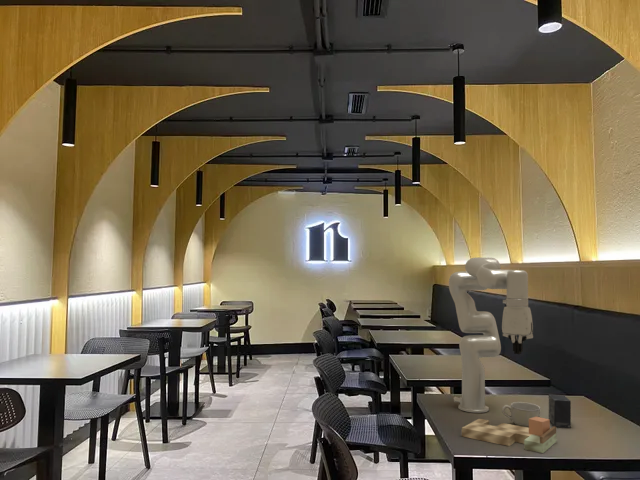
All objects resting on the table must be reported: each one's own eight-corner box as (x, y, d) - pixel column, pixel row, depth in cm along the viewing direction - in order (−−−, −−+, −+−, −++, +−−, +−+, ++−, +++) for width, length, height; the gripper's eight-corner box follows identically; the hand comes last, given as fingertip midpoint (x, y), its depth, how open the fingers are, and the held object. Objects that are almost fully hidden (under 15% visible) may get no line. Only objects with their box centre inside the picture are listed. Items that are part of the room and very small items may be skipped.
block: (528, 433, 187) (528, 418, 188) (536, 430, 191) (535, 416, 191) (542, 436, 183) (542, 421, 184) (549, 434, 187) (549, 419, 187)
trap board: (461, 436, 193) (461, 422, 193) (478, 426, 206) (478, 413, 206) (543, 453, 176) (542, 437, 176) (556, 441, 188) (556, 426, 189)
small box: (572, 428, 204) (571, 400, 205) (553, 427, 206) (553, 399, 206) (565, 421, 215) (564, 394, 215) (547, 420, 216) (547, 393, 217)
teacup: (539, 424, 210) (539, 403, 211) (541, 431, 200) (541, 409, 201) (502, 420, 215) (501, 400, 216) (501, 427, 205) (501, 406, 205)
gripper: (493, 303, 201) (494, 352, 200) (535, 304, 192) (535, 357, 191) (500, 302, 207) (501, 350, 206) (541, 304, 198) (542, 354, 197)
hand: (517, 353), depth 198 cm, fingers closed
